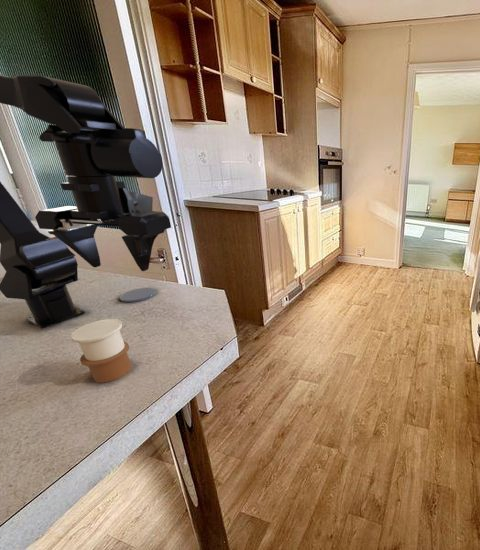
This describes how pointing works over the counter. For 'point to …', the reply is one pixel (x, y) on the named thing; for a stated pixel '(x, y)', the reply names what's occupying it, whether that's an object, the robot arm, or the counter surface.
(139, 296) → the saucer
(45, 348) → the counter surface
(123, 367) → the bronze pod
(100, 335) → the cream pod
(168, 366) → the counter surface
